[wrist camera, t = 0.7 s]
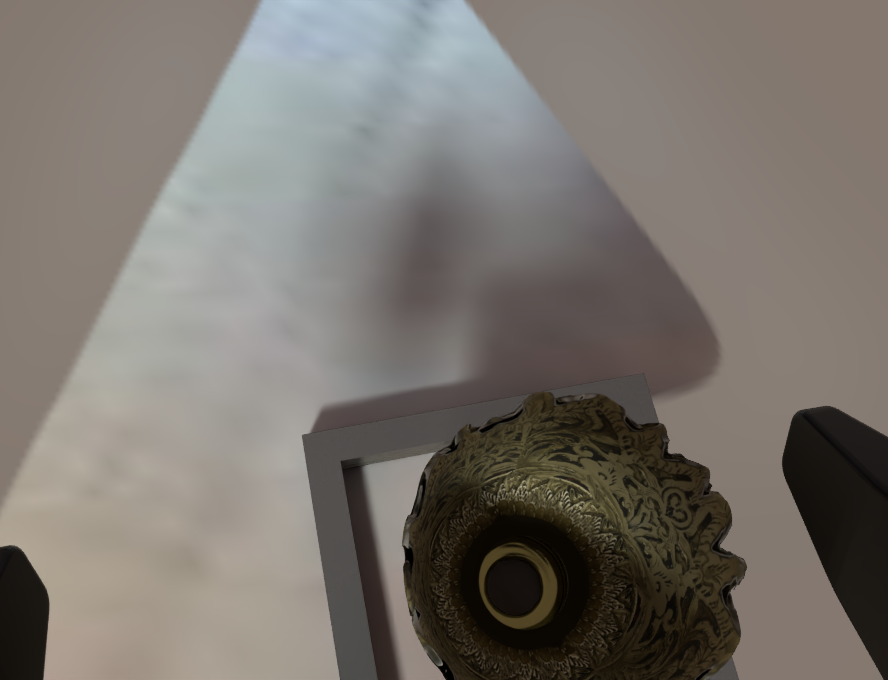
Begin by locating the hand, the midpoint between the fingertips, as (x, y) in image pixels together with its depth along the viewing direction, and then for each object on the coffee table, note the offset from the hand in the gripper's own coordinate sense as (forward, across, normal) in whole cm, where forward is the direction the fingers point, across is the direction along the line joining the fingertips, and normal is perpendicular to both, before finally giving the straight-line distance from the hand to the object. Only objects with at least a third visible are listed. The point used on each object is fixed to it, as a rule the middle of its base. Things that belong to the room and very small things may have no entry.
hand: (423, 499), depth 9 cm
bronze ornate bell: (+8, -3, +14) cm, 17 cm away
